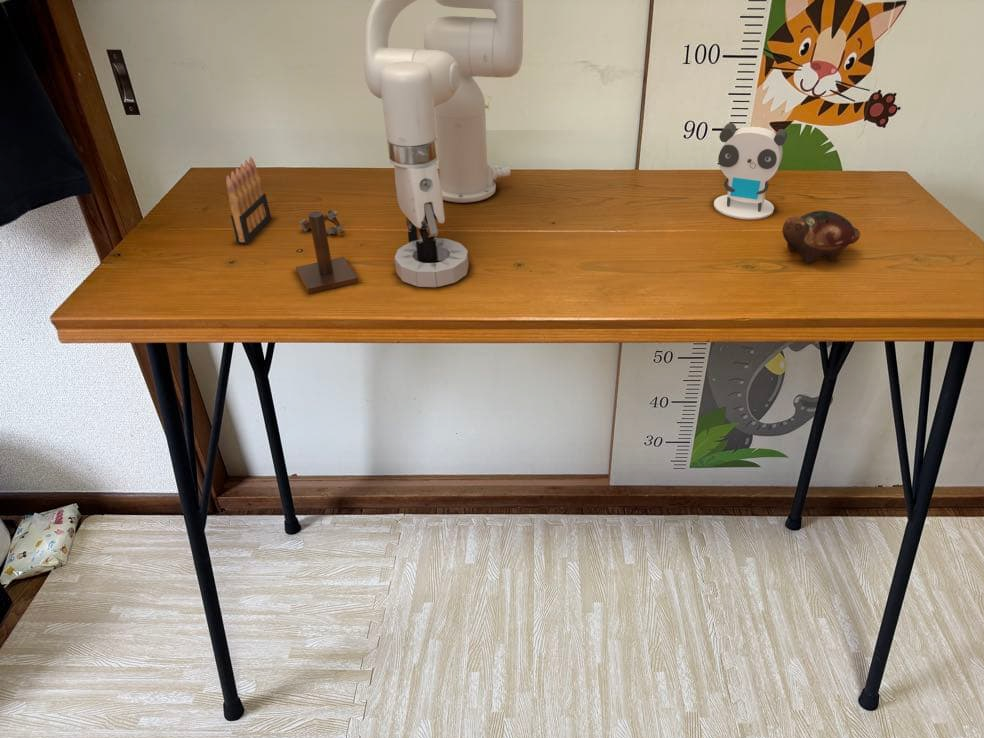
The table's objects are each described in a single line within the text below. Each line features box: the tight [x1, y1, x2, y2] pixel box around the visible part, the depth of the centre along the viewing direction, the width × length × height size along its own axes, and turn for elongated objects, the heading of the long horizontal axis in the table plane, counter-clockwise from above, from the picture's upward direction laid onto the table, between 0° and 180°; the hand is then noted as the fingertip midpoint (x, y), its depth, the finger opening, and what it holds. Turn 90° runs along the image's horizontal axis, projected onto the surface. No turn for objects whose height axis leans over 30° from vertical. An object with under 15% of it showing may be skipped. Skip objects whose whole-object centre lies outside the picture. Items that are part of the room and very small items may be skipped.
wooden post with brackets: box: [299, 209, 345, 235], centre depth 137 cm, size 2×8×4 cm, turn 71°
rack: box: [295, 210, 359, 295], centre depth 122 cm, size 8×8×11 cm
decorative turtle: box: [781, 210, 861, 265], centre depth 130 cm, size 10×15×8 cm, turn 113°
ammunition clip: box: [226, 156, 272, 245], centre depth 135 cm, size 11×2×12 cm, turn 172°
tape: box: [394, 237, 470, 288], centre depth 126 cm, size 12×12×3 cm
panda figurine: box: [713, 122, 788, 220], centre depth 144 cm, size 12×11×15 cm
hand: (423, 256), depth 130 cm, fingers closed on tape, 3 cm apart
